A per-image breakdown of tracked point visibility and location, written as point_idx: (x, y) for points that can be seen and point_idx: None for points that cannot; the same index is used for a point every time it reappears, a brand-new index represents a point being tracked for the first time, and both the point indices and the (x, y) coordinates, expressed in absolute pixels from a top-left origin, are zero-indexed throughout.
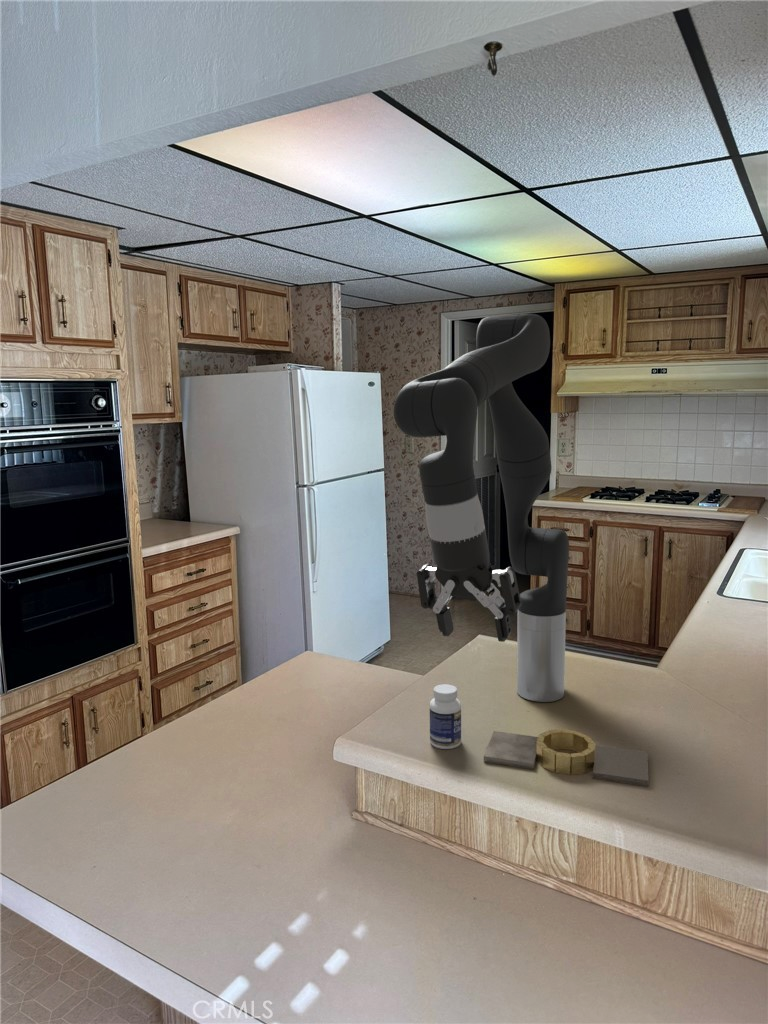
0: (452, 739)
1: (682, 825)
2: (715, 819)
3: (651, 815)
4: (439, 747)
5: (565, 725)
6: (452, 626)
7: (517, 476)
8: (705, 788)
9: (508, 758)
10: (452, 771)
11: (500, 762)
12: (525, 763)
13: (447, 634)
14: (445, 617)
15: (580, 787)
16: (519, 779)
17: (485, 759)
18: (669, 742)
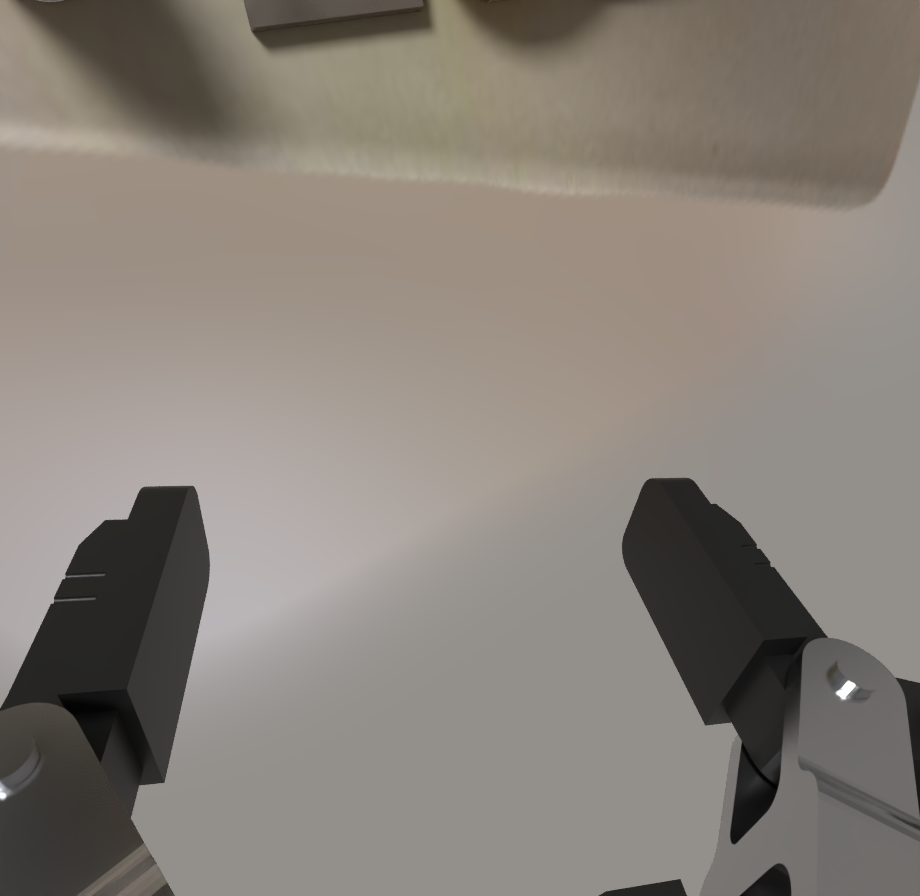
0: None
1: (780, 141)
2: (849, 77)
3: (724, 129)
4: (48, 1)
5: None
6: (186, 516)
7: None
8: None
9: (336, 6)
10: (192, 149)
11: (310, 22)
12: (396, 9)
13: (206, 577)
14: (171, 708)
15: (564, 64)
16: (399, 100)
17: (257, 28)
18: None
